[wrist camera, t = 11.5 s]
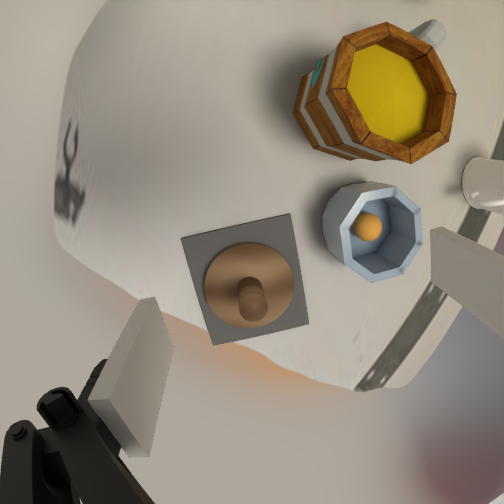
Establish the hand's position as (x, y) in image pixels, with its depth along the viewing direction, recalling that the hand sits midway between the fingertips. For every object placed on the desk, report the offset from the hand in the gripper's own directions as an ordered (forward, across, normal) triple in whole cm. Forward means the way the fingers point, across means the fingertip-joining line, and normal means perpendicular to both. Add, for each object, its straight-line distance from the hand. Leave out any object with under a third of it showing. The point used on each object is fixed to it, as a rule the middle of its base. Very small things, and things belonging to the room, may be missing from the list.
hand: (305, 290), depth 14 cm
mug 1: (+28, +16, +11) cm, 34 cm away
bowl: (+27, +12, -6) cm, 31 cm away
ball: (+26, +12, -6) cm, 29 cm away
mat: (+27, -4, -11) cm, 29 cm away
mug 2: (+28, +34, -4) cm, 45 cm away
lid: (+26, -4, -11) cm, 29 cm away
